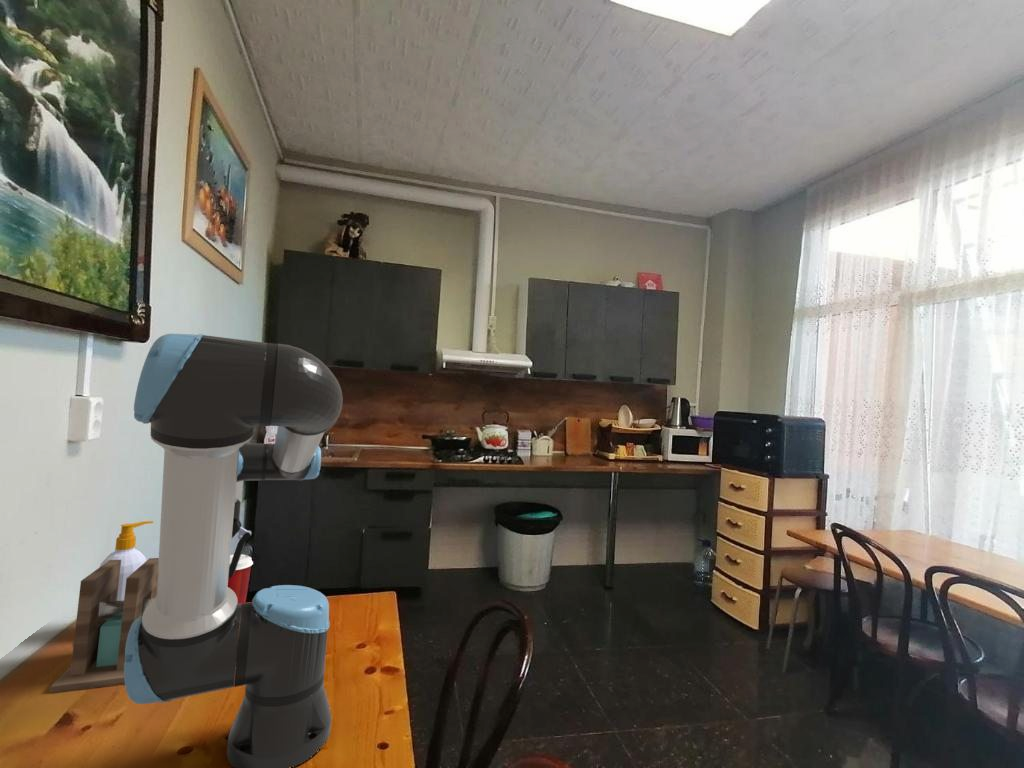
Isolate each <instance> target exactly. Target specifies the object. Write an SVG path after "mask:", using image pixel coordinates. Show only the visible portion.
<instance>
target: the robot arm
mask: <svg viewBox="0 0 1024 768" xmlns="http://www.w3.org/2000/svg"><path fill="white" fill-rule="evenodd" d="M343 398H344V397H343V392H342V388H341V385H340V382H339V381H338V379H337V377H336V376H335V374H334V373H333V372H332V371H331V370H330V368H329V366H327V365H326V364H325V363H324V362H322V360H320V359H319V358H318V357H316V356H315V355H313V354H312V353H311V352H310V353H309V351H306V350H304V349H302V348H299V347H296V346H293V345H289V344H284V343H283V344H282V343H271V342H261V341H253V340H247V339H245V340H244V339H238V338H230V337H221V336H215V335H214V336H213V335H204V334H203V333H200V334H187V333H186V334H185V333H165V334H163V335H161V336H159V337H158V338H157V339H156V340H155V341H154V342H153V343H152V345H151V347H150V349H149V351H148V352H147V355H146V358H145V359H144V362H143V366H142V369H141V371H140V376H139V378H138V383H137V387H136V392H135V397H134V402H133V403H134V404H133V411H134V412H133V413H134V414H133V417H134V419H135V420H136V421H137V422H140V423H142V424H150V439H151V440H152V441H153V442H154V443H156V444H157V445H158V446H160V447H161V448H163V451H164V453H163V471H162V473H163V474H162V488H161V489H162V490H161V491H162V493H161V505H160V506H161V508H160V509H161V511H160V527H159V545H158V558H159V562H158V581H157V597H156V599H154V600H153V601H152V602H151V603H150V604H149V605H148V606H147V608H146V609H145V611H144V613H143V616H141V617H138V618H137V619H136V620H135V621H134V622H133V623H132V625H131V628H130V630H129V633H128V637H127V641H126V647H125V663H124V680H125V684H124V686H125V690H126V694H127V696H128V699H129V700H130V701H132V702H133V703H134V704H137V705H146V704H148V705H149V704H155V703H167V702H171V701H173V700H178V699H183V698H187V697H192V696H196V695H202V694H206V693H211V692H216V691H221V690H227V689H231V688H237V687H242V686H245V689H244V691H245V692H244V697H243V698H242V702H241V703H240V706H239V709H238V711H237V714H236V716H235V718H234V721H233V723H232V724H231V728H230V730H229V732H228V733H229V734H228V738H227V746H226V758H227V761H228V763H229V764H230V765H231V767H233V768H234V767H235V768H289V767H293V766H295V767H298V766H299V764H300V765H301V764H303V762H304V763H305V762H307V761H308V760H310V759H311V758H312V757H311V756H313V755H314V754H315V753H316V752H317V751H318V750H319V749H320V748H321V747H322V746H323V745H324V743H325V742H326V741H327V742H328V740H329V738H328V737H330V735H331V728H332V711H331V707H330V703H329V700H328V699H329V698H328V697H327V691H326V688H325V685H324V681H325V680H324V679H325V669H326V658H327V657H326V656H327V655H326V654H327V652H326V651H327V643H328V642H327V641H328V631H329V628H330V619H329V617H330V602H329V600H328V598H327V596H326V595H325V594H323V593H322V592H321V591H320V590H319V591H318V590H316V589H314V588H312V587H309V586H308V587H307V586H305V585H304V586H303V585H295V584H294V585H293V584H282V585H281V584H278V585H273V586H269V587H267V588H266V587H265V588H261V590H259V591H257V592H256V593H255V595H254V597H253V598H252V600H251V602H246V603H243V604H237V596H236V594H235V592H234V591H233V590H232V589H230V588H229V587H228V578H230V577H232V576H233V574H234V573H235V570H236V568H237V565H238V562H239V559H240V556H241V554H242V553H243V550H244V548H245V545H246V542H247V540H248V539H249V538H250V537H251V536H252V534H253V530H251V529H248V530H247V529H246V528H244V527H242V523H241V521H240V515H241V514H240V513H241V501H240V500H239V499H241V498H242V487H243V486H242V485H243V481H247V482H248V481H304V480H315V479H317V478H318V477H319V476H320V471H321V464H322V449H321V446H319V445H320V443H321V441H322V439H323V436H324V434H325V432H326V433H327V431H329V430H330V429H331V428H332V427H334V425H335V424H336V423H337V420H338V419H339V418H340V415H341V412H342V409H343V401H344V399H343ZM270 426H271V427H277V430H276V434H275V440H274V443H250V441H251V440H252V439H253V435H254V427H270ZM248 442H249V443H248ZM237 534H238V535H237ZM236 535H237V539H238V540H239V541H238V543H237V544H236V547H235V550H234V553H233V555H234V556H233V558H232V561H231V564H230V555H231V552H232V550H231V548H232V541H233V538H234V537H235V536H236ZM229 564H230V567H229ZM240 614H241V617H240ZM327 739H328V740H327ZM327 742H326V743H327ZM324 746H325V745H324ZM324 746H323V747H324ZM323 747H322V748H323ZM315 755H316V754H315ZM315 755H314V756H315ZM314 756H313V757H314ZM310 757H311V758H310ZM309 758H310V759H309ZM306 760H307V761H306ZM297 765H298V766H297ZM293 768H294V767H293Z"/></svg>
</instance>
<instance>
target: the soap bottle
mask: <svg viewBox="0 0 1024 768" xmlns="http://www.w3.org/2000/svg"><path fill="white" fill-rule="evenodd" d="M147 524H154V521H153V520H145V521H144V520H143V521H139V522H134V523H123V524H121V525H120V526H121V531H120V533H119V535H118V537H116V539H115V547H114V548H115V549H114V551H113V552H111V553H109V555H107V556H106V557H105V559H104V560H103V561H102V562H101V563H100V565H99V567H98V568H100V567H101V566H102V565H104V564H105V563H106V562H108V561H109V560H121V567H120V576H119V585H118V594H117V601H122V600H124V597H125V588H126V578H128V577H129V576H130V575H131V574H132V573H133V572H134V571H136V570H137V569H138V568H139V567H140V566H141V565H142V564H144V563H145V562H146V561H147V557H146V556H145V555H144V554H143V553H142V552H141V551H139V550H138V549H136V541H137V535H135V532H134V528H138V527H140V526H141V527H142V526H143V525H147Z"/></svg>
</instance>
